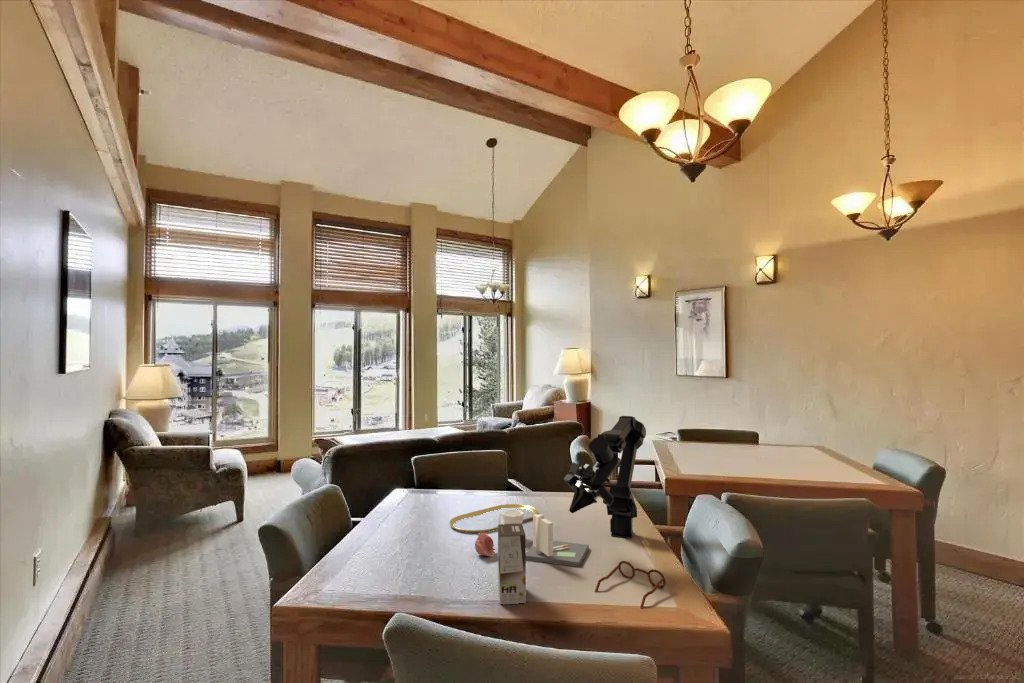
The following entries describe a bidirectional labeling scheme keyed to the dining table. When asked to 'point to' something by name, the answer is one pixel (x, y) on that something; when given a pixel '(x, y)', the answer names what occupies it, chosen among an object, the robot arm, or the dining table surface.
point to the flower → (484, 545)
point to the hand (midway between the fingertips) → (570, 512)
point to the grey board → (561, 554)
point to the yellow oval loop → (489, 511)
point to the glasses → (633, 576)
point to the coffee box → (511, 563)
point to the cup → (511, 517)
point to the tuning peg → (543, 535)
